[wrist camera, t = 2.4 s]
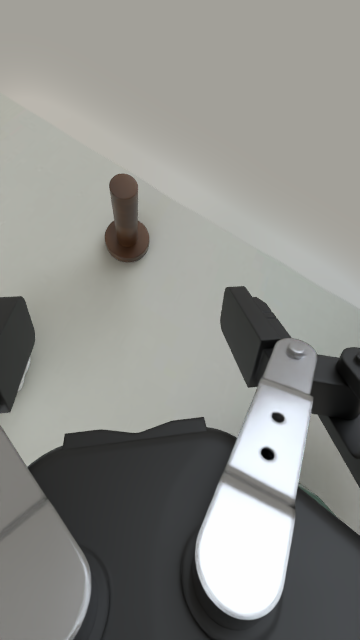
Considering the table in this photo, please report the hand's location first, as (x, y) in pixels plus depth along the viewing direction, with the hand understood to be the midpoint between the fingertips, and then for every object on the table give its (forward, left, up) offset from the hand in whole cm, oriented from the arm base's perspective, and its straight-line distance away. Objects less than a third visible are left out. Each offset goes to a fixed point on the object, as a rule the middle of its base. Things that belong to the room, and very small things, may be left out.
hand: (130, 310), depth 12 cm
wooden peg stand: (-7, -9, -20) cm, 23 cm away
